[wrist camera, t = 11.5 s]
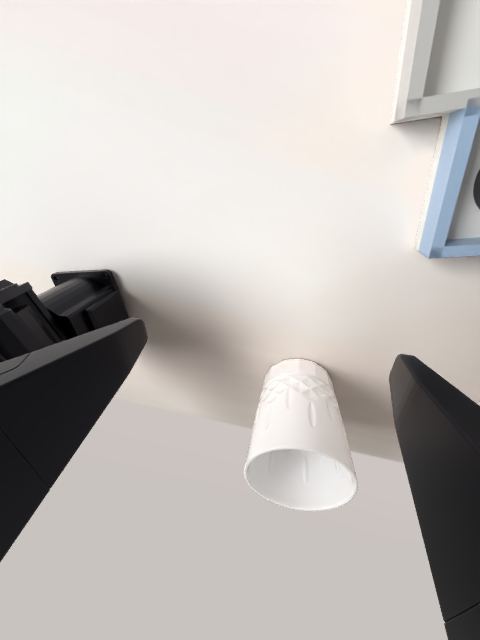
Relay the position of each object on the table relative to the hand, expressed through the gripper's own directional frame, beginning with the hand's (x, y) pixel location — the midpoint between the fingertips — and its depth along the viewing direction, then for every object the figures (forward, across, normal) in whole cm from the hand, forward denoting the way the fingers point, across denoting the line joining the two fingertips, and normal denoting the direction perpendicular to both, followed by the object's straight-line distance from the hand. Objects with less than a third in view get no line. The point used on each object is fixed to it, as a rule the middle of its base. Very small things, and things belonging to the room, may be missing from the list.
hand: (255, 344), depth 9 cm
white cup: (+13, -2, +14) cm, 19 cm away
